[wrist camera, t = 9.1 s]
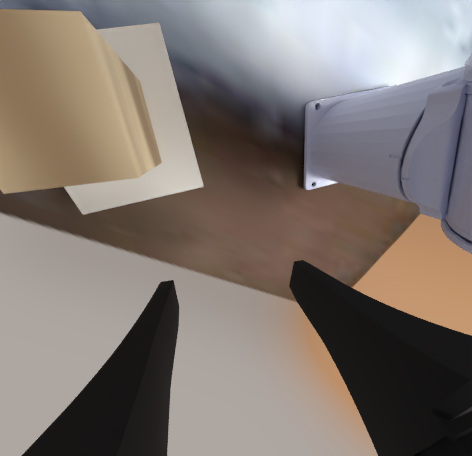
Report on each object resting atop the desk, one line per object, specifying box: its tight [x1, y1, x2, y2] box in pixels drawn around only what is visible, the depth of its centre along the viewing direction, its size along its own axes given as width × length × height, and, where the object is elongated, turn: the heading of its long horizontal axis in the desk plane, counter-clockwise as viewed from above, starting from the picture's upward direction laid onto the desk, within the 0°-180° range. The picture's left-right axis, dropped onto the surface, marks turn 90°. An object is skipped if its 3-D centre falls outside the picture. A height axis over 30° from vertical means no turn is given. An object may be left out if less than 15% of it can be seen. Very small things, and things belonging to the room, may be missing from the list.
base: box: [64, 23, 204, 215], centre depth 12 cm, size 9×9×3 cm
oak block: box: [0, 9, 162, 194], centre depth 8 cm, size 4×4×6 cm
